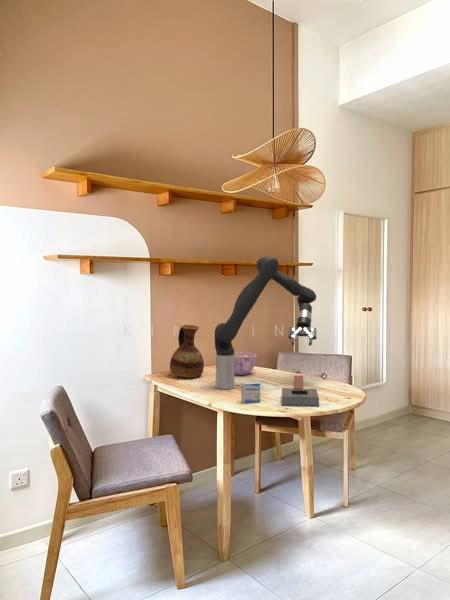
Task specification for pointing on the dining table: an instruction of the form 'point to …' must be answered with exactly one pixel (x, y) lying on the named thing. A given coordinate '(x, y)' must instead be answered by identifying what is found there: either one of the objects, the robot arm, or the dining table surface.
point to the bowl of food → (243, 362)
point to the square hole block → (299, 397)
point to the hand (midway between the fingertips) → (301, 344)
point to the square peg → (298, 381)
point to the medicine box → (250, 392)
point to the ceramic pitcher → (187, 354)
